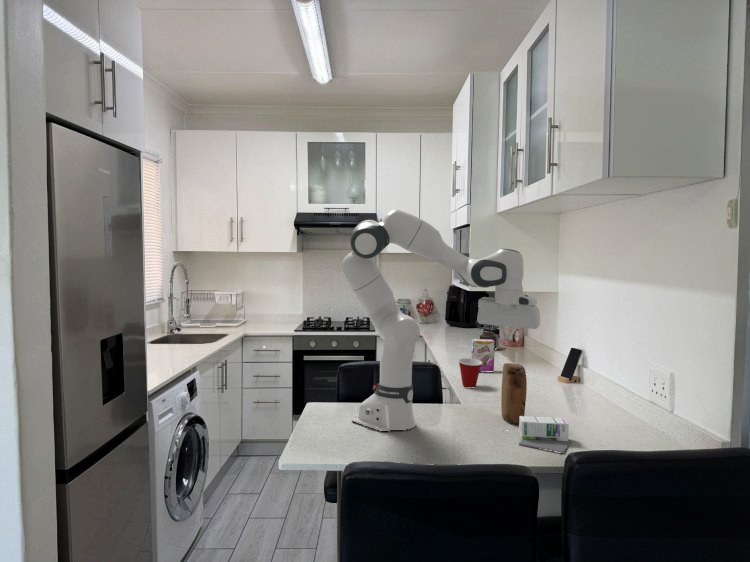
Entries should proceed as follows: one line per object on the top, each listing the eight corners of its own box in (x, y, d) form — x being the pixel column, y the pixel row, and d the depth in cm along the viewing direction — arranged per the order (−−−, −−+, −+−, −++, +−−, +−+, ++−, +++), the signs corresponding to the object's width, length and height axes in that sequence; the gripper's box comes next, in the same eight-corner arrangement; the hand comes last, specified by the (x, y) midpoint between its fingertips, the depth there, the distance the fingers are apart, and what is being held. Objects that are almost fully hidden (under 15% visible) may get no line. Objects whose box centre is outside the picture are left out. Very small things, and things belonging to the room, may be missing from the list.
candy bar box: (472, 372, 251) (473, 340, 250) (470, 370, 256) (471, 339, 255) (494, 372, 251) (495, 340, 250) (492, 370, 256) (492, 339, 255)
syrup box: (521, 421, 156) (569, 423, 154) (519, 415, 162) (564, 418, 160) (521, 438, 156) (568, 441, 154) (518, 432, 162) (564, 435, 160)
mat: (519, 445, 152) (519, 443, 152) (529, 433, 163) (529, 432, 163) (562, 454, 146) (563, 452, 146) (570, 441, 156) (570, 440, 156)
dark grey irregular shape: (499, 348, 320) (499, 321, 319) (495, 351, 310) (496, 323, 309) (475, 346, 327) (476, 319, 326) (471, 349, 317) (471, 321, 316)
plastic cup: (470, 391, 215) (470, 364, 214) (452, 385, 224) (453, 359, 223) (487, 387, 221) (487, 361, 221) (469, 382, 230) (469, 357, 229)
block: (500, 415, 182) (501, 361, 181) (520, 415, 182) (522, 362, 181) (505, 424, 171) (507, 368, 170) (527, 425, 171) (529, 368, 170)
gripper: (475, 296, 165) (473, 337, 165) (537, 300, 154) (535, 344, 154) (481, 295, 170) (480, 335, 171) (542, 299, 159) (540, 342, 160)
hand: (507, 339), depth 163 cm, fingers closed
